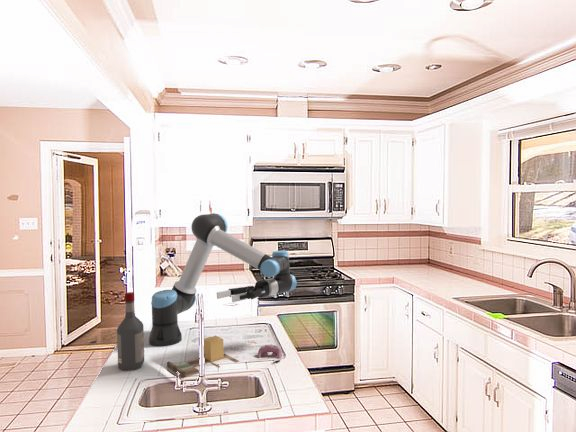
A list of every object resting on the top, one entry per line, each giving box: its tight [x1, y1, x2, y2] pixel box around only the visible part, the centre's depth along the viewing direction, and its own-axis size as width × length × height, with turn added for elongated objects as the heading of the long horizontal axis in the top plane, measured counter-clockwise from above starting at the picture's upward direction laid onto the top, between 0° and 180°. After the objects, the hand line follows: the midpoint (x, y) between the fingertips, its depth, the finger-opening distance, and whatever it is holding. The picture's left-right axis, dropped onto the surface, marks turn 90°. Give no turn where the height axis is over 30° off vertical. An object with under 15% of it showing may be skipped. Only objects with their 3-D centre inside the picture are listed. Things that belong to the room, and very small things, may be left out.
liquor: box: [116, 291, 145, 372], centre depth 179 cm, size 9×9×30 cm
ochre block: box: [203, 335, 225, 362], centre depth 184 cm, size 6×6×8 cm
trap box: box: [166, 353, 240, 379], centre depth 177 cm, size 14×25×4 cm, turn 130°
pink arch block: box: [257, 344, 282, 362], centre depth 185 cm, size 10×5×7 cm, turn 84°
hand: (224, 297), depth 188 cm, fingers open, 13 cm apart
